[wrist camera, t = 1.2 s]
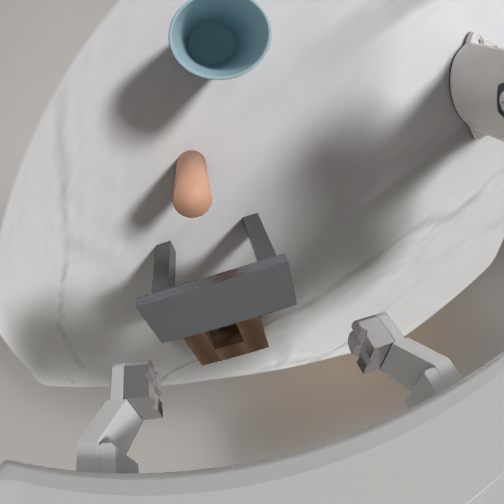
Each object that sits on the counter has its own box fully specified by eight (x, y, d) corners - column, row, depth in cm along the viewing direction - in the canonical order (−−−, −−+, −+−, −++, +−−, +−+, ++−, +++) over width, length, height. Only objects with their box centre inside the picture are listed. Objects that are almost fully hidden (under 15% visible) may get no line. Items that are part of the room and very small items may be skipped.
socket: (247, 282, 46) (253, 300, 43) (263, 329, 53) (268, 346, 50) (174, 304, 46) (174, 323, 42) (200, 347, 53) (202, 365, 50)
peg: (200, 146, 33) (205, 177, 25) (209, 172, 35) (216, 210, 27) (172, 156, 33) (167, 189, 25) (182, 181, 35) (180, 222, 27)
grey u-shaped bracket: (257, 198, 38) (288, 261, 27) (267, 236, 42) (296, 304, 31) (147, 234, 38) (136, 306, 27) (164, 268, 41) (162, 343, 31)
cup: (160, 54, 26) (147, 48, 17) (203, 1, 23) (211, -27, 14) (217, 89, 29) (230, 97, 21) (260, 37, 26) (290, 26, 18)
